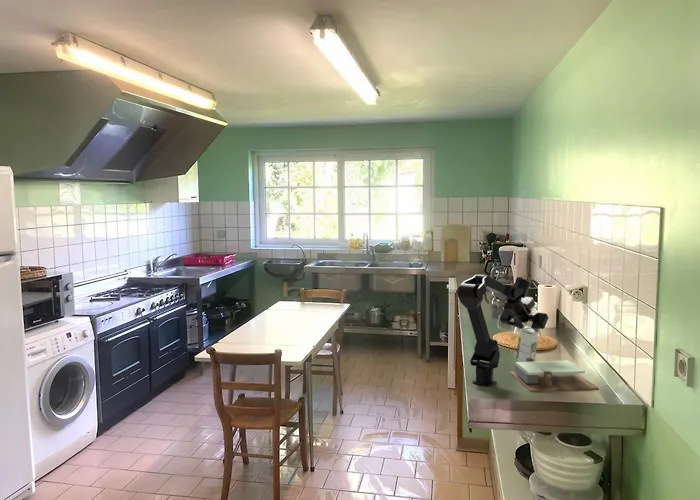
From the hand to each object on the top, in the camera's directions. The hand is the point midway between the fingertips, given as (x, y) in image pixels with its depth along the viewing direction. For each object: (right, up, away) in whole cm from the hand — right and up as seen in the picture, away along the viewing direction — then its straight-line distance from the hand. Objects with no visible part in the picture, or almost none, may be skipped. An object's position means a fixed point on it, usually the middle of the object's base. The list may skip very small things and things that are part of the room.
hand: (530, 330), depth 220 cm
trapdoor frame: (0, -15, -22) cm, 27 cm away
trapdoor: (-1, -14, -22) cm, 26 cm away
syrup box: (-2, -14, +1) cm, 14 cm away
